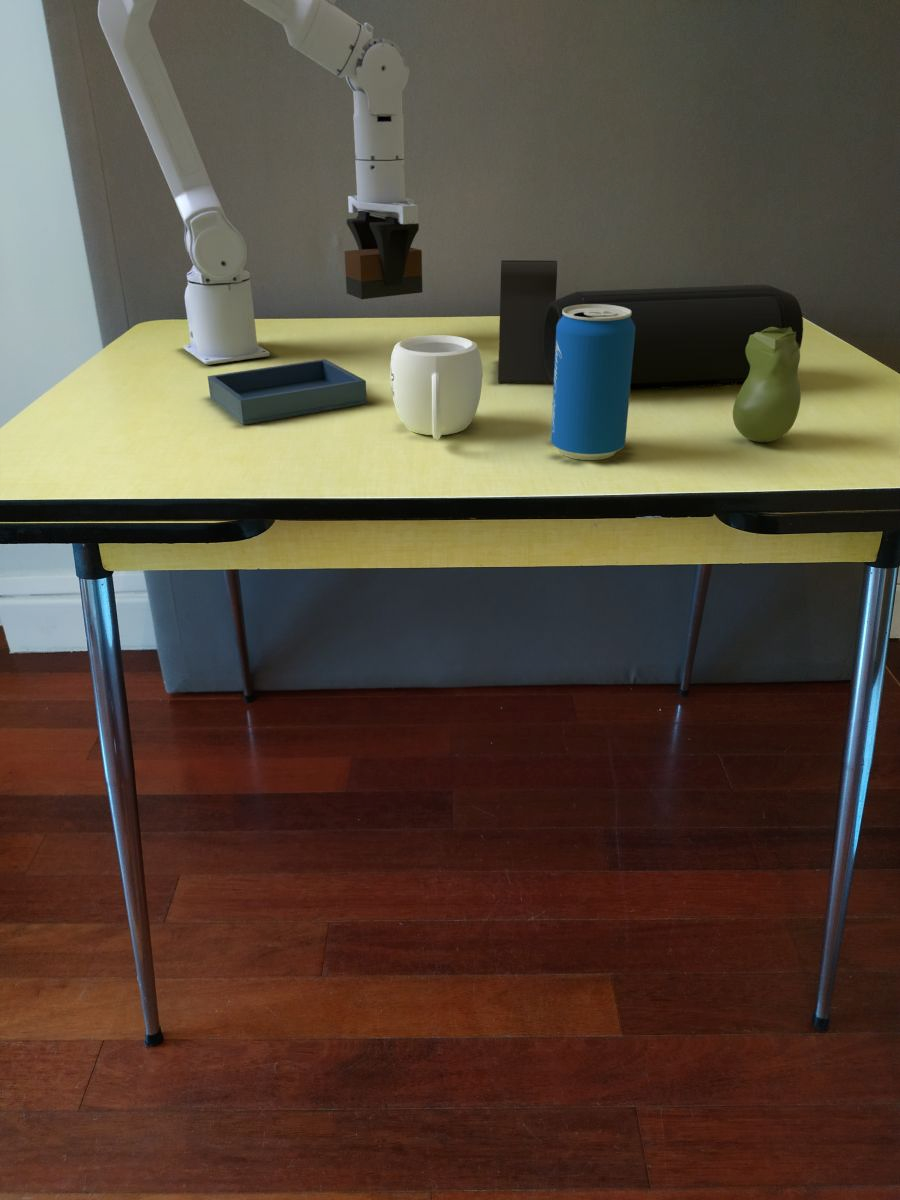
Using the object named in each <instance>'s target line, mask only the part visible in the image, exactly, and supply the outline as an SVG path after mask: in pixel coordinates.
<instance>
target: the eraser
mask: <svg viewBox="0 0 900 1200" xmlns="http://www.w3.org/2000/svg"><path fill="white" fill-rule="evenodd" d="M343 252H344V268H345V287H346V288H345V289H346V294H347V295H349V296H352V297H355V298H358V299H361V300H369V299H376V298H387V297H395V296H404V295H413V294H422V293H423V250H422V249H417V248H414V247H410V250H409V253H408V257H407V261H406V266H405V271H404V276H403V280H402V284H395V285H385V283H384V280H383V275H382V269H381V260H380V254H379V250H378V248H374V249H362V250H359V249H354V250H353V249H352V250H351V249H350V250H344V251H343Z"/></svg>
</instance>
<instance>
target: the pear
mask: <svg viewBox="0 0 900 1200" xmlns="http://www.w3.org/2000/svg"><path fill="white" fill-rule="evenodd" d="M795 338H796V332H793V331H792V329H791V327H789V328H787V327H786V328H785V329H784V328H783V329H779V328H776V327H769V328H767V329H765V330H763V331H761V332H756V333H755V334H753V335H750V337H749V341H748V343H747V345H746V349H745V353H746V357H747V359H748V362H749V364H750V372H749V375H748V377H747V379H746V381H745V382H744V384H742V385H741V387H740V389H739V390H738V394H737V396H736V398H735V399H734V400H735V401H734V404H733V408H732V420H733V424H734V426H735V428H736V430H737V432H738V433H739V434H741V435H742V436H743V437H744V438H745V439H747V440H750V441H752V442H757V443H769V442H774V441H776V440H779V439H781V438H782V437H784V436H785V435H786V434H788V432H789V431H790V430H791V429H792V427H793V426H794V425H795V422H796V420H797V417H798V415H799V410H800V406H801V400H802V399H801V398H802V387H801V382H800V377H799V365H800V361H801V347H800V348H799V343H798V342H796V339H795Z"/></svg>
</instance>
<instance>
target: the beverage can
mask: <svg viewBox="0 0 900 1200" xmlns="http://www.w3.org/2000/svg"><path fill="white" fill-rule="evenodd" d="M631 313H632V312H631V310H629V309H627V308H625V307H620V306H615V305H605V304H583V305H574V306H569V307H566V308H564V309H563V310H562V314H563V316H562V318H561V319H560V320H559V322H558V324H557V326H556V347H555V368H554V383H553V390H552V391H553V392H552V411H551V412H552V413H551V431H550V432H551V433H550V443H551V445H553V447H554V448H555V449H557V450H558V451H559V453H560V454H561V455H563V456H565V457H568V458H570V459H574V460H581V461H599V460H605V459H609V458H611V457H613V456H614V455H615V454H616V453H617V452H619V451H621V450H622V449H624V447H625V445H626V441H627V440H626V438H627V428H628V427H627V426H628V417H629V406H630V405H629V404H630V396H631V395H630V394H631V390H630V384H631V373H632V362H633V350H634V339H635V325H634V323H633V321H632V319H631V318H630V316H631Z"/></svg>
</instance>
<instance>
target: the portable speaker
mask: <svg viewBox="0 0 900 1200" xmlns="http://www.w3.org/2000/svg"><path fill="white" fill-rule="evenodd" d="M583 304H605V305H615V306H620V307H625V308H627V309H629V310H631V312H632V313H631V316H630V318H631V319H632V321H633V323H634V325H635V339H634V350H633V362H632V373H631V384H630V391H637V390H658V389H673V388H674V389H677V388H693V387H694V388H695V387H714V386H729V385H730V386H731V385H732V386H733V385H734V386H735V385H743V384H744V382H745V381H746V379H747V377H748V375H749V372H750V364H749V362H748V359H747V357H746V353H745V349H746V345H747V343H748V341H749V337H750V335H753V334H755V333H756V332H761V331H763V330H765V329H767V328H769V327H776V328H779V329H783V328H784V329H785V328H786V327H787V328H789V327H791V329H792V331H793V332H796V338H795V339H796V342H798V343H799V348H800V349H801V347H802V341H803V337H804V317H803V313H802V308H801V305H800V303H799V301H798V299H797V297H795V296H794V295H793V294H792V293H790V292H788V291H785V290H783V289H780V288H777V287H775V286H771V285H769V284H740V285H739V284H738V285H736V284H735V285H714V286H713V285H712V286H688V287H687V286H686V287H659V288H634V289H629V288H628V289H605V290H582V291H575V292H571V293H570V294H567V295H564V296H563V297H560V298H556V300H555V301H553V302H551V303H550V304H549V306H548V308H547V311H546V315H545V321H544V330H543V353H544V361H545V367H546V372H547V375H548V377H549V379H550V381H551V382H552V383H553V384H554V368H555V347H556V326H557V324H558V322H559V320H560V319H561V318H562V316H563V314H562V310H563V309H564V308H566V307H569V306H574V305H583Z"/></svg>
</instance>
